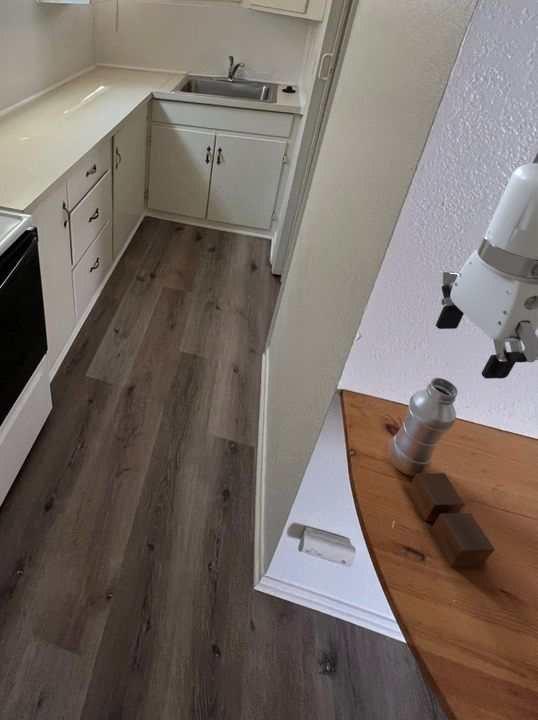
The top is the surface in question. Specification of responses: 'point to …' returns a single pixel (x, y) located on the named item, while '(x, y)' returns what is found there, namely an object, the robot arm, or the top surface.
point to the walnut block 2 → (461, 539)
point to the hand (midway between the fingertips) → (467, 350)
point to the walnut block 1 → (434, 495)
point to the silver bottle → (423, 427)
